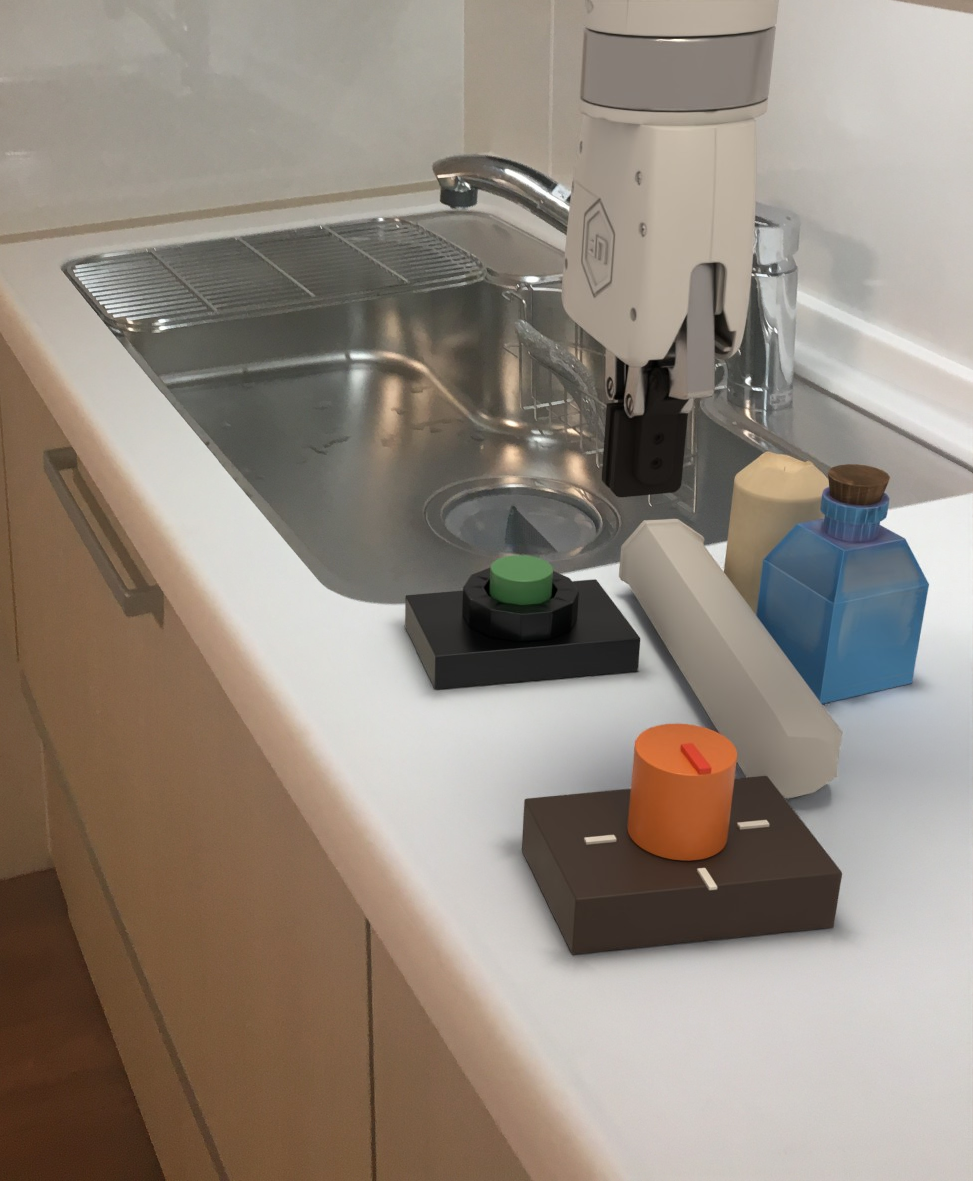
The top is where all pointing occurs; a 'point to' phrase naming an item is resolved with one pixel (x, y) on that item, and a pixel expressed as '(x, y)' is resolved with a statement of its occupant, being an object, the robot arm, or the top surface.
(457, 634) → the button housing
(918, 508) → the top surface
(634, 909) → the dial block
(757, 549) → the candle
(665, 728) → the dial knob
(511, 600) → the button
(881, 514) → the perfume bottle
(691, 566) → the tube
